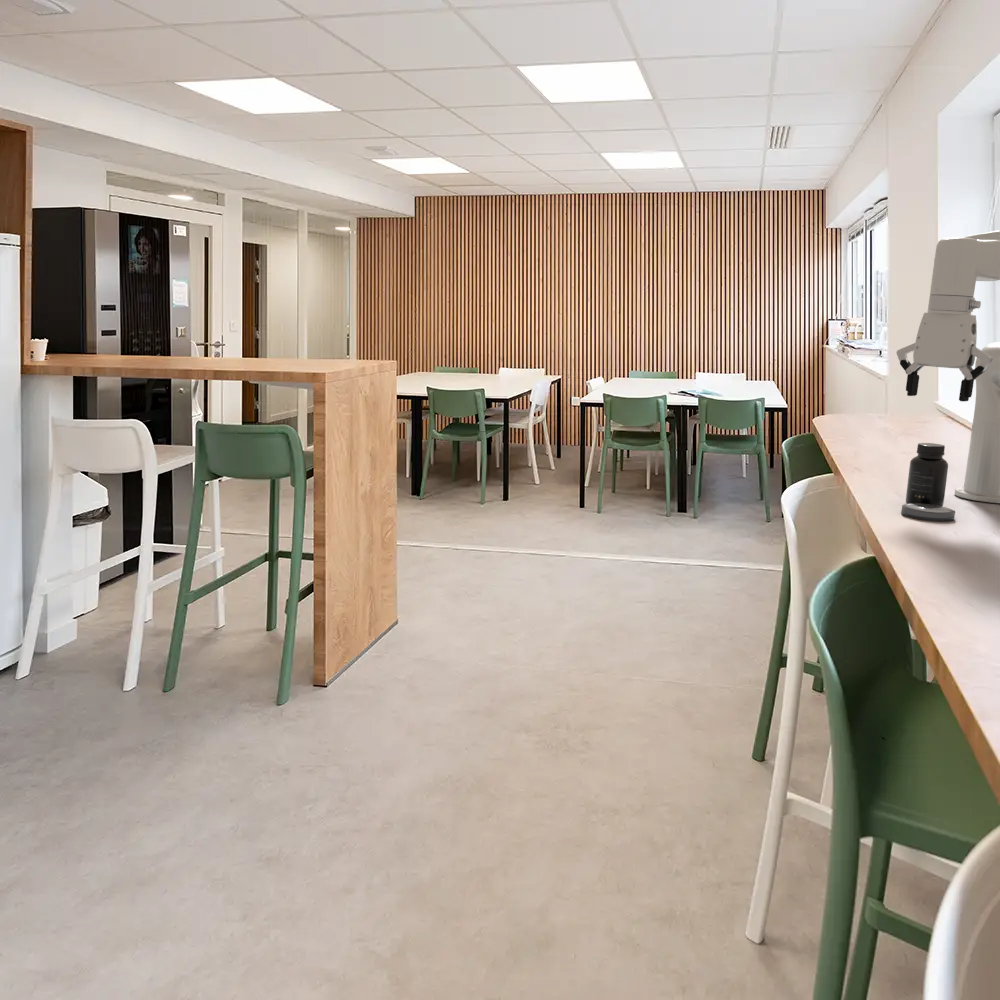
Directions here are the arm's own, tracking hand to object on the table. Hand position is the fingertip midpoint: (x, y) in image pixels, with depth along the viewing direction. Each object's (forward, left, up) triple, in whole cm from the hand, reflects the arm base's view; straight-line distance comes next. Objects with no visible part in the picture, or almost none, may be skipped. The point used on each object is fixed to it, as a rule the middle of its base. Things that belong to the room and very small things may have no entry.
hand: (937, 398), depth 192 cm
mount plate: (+10, +5, -21) cm, 23 cm away
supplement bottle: (0, 0, -21) cm, 21 cm away
